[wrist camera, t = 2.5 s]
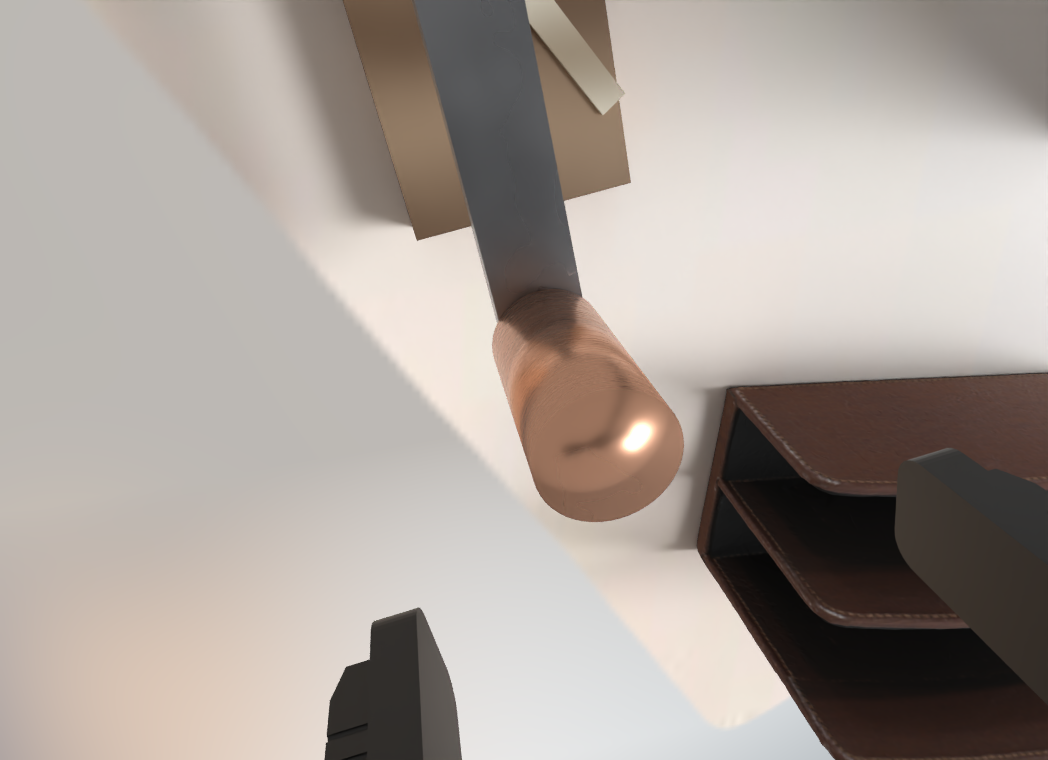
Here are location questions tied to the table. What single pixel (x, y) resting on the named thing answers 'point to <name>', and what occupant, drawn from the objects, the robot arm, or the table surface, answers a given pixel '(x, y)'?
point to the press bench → (568, 89)
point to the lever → (541, 275)
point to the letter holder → (869, 560)
